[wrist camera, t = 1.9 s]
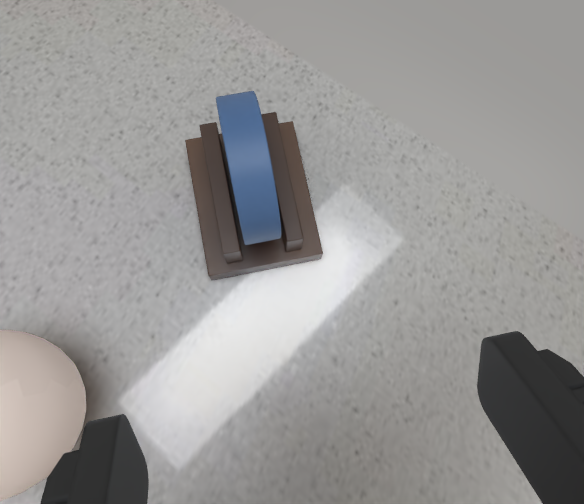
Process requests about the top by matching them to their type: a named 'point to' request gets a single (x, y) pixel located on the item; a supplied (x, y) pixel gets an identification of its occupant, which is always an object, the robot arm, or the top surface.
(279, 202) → the rack
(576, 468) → the robot arm
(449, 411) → the top surface
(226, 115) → the disc
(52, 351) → the egg
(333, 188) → the top surface
